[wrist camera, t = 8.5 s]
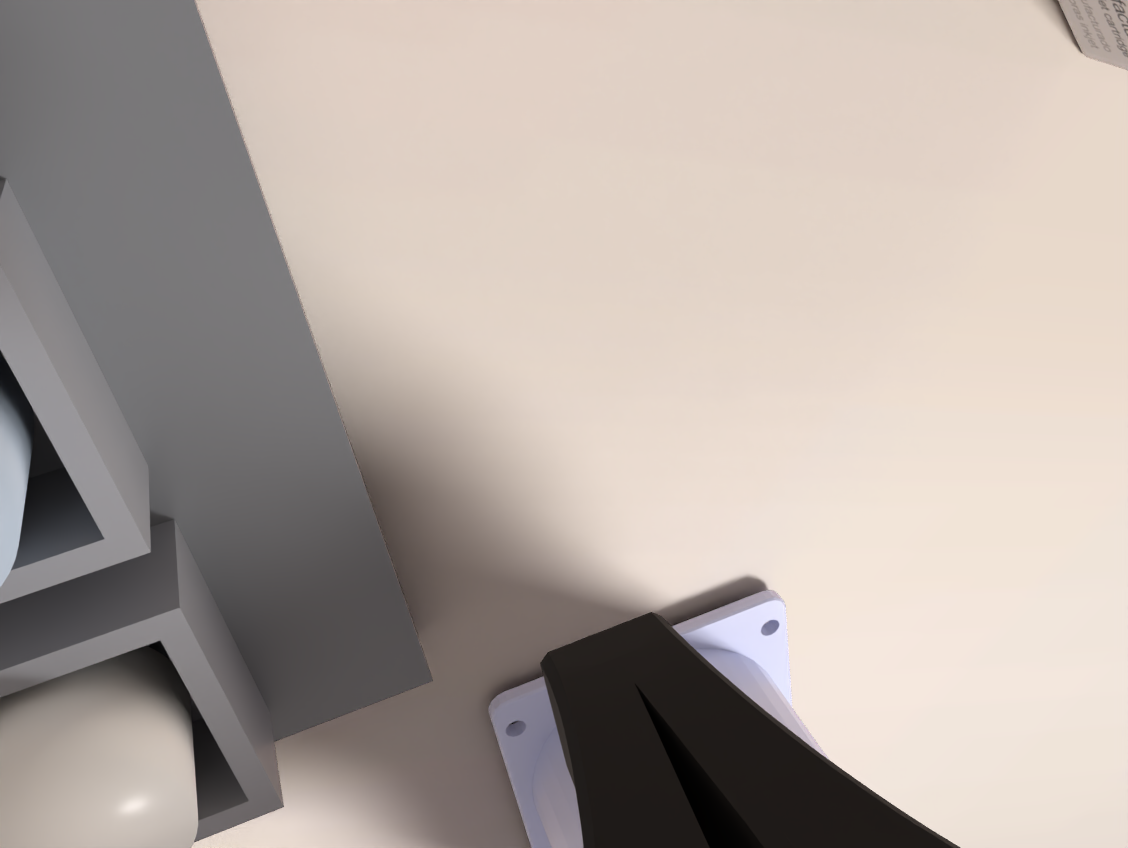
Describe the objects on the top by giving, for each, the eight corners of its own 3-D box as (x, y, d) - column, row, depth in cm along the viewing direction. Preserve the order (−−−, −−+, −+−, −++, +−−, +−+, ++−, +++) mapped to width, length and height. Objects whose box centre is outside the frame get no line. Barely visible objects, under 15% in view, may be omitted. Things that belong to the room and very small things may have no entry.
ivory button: (218, 739, 20) (229, 859, 18) (27, 812, 20) (15, 945, 18) (146, 607, 18) (148, 724, 16) (-69, 683, 18) (-98, 815, 16)
